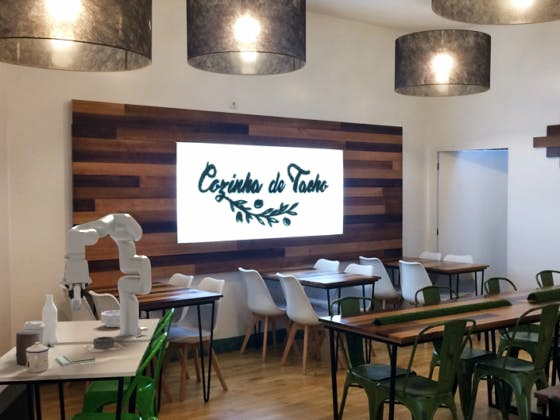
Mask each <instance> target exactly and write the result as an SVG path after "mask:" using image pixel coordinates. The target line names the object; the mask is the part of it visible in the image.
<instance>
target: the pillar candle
mask: <svg viewBox="0 0 560 420" xmlns="http://www.w3.org/2000/svg"><path fill="white" fill-rule="evenodd" d="M39 332H40V331H38V330H28V329H27V330H24V329H23V330H19V331H16V335H15V339H16V340H15V341H16V342H15V343H16V344H15V345H16V346H15V359H16V360H15V361H16V362H15V364H16V365H19V366H27V361H26V349H27V348H29V347H31V346H33V345H35V342H39Z"/></svg>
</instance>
